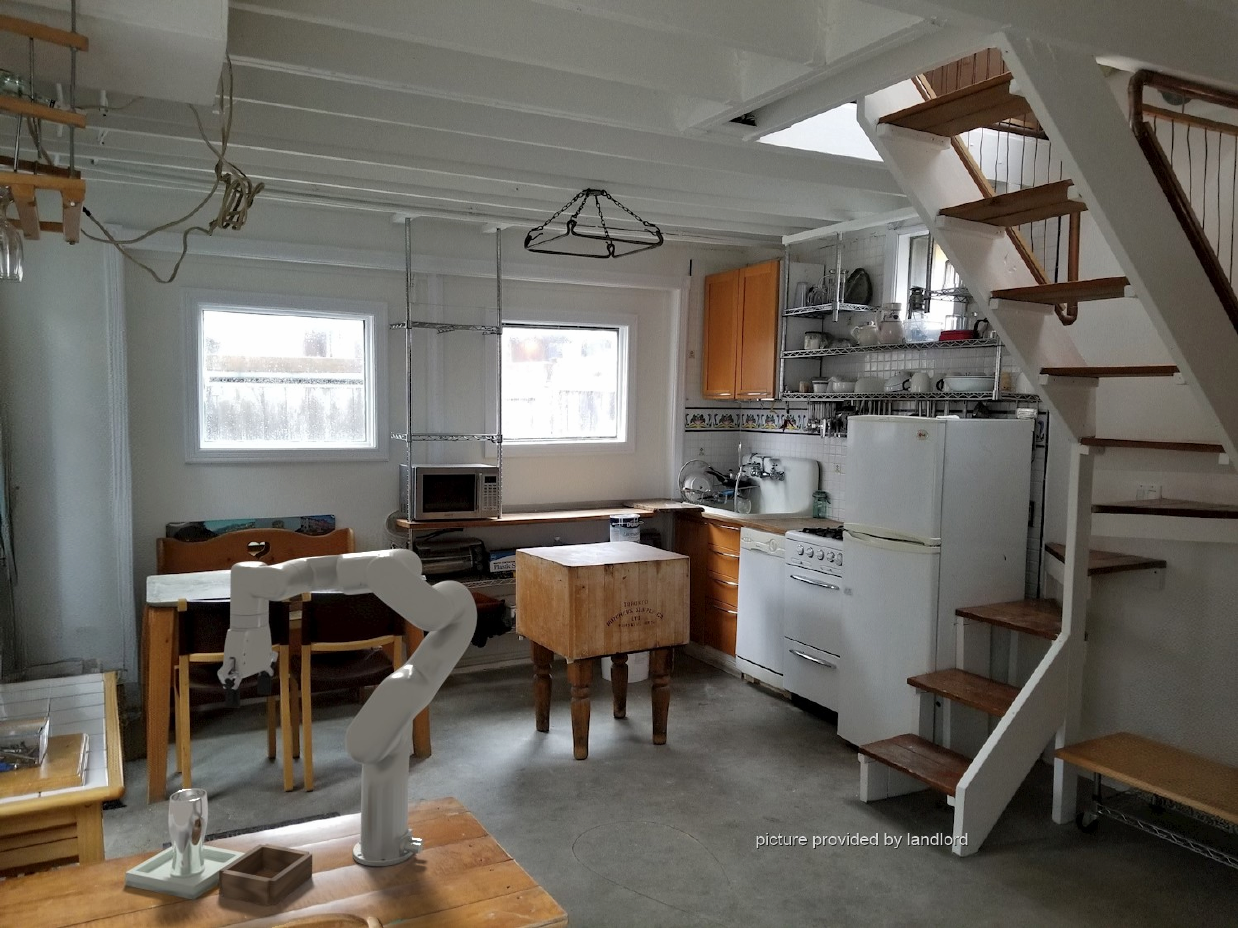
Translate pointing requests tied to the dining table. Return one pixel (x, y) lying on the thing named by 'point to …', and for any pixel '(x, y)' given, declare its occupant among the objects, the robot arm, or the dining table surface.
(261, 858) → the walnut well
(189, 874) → the beer glass
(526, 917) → the dining table surface
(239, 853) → the sage tray
